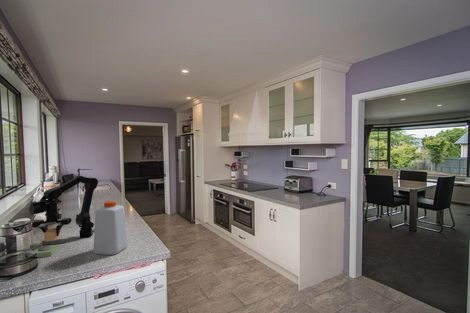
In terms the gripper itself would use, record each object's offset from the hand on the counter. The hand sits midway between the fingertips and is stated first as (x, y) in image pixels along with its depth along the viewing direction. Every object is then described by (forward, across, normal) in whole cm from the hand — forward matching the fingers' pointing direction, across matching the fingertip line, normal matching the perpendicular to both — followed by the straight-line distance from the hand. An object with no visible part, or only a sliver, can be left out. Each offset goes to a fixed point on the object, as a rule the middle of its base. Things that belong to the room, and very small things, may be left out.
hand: (52, 236), depth 152 cm
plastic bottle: (+6, -35, +15) cm, 39 cm away
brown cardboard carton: (+1, 0, 0) cm, 1 cm away
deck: (+6, +2, +5) cm, 8 cm away
